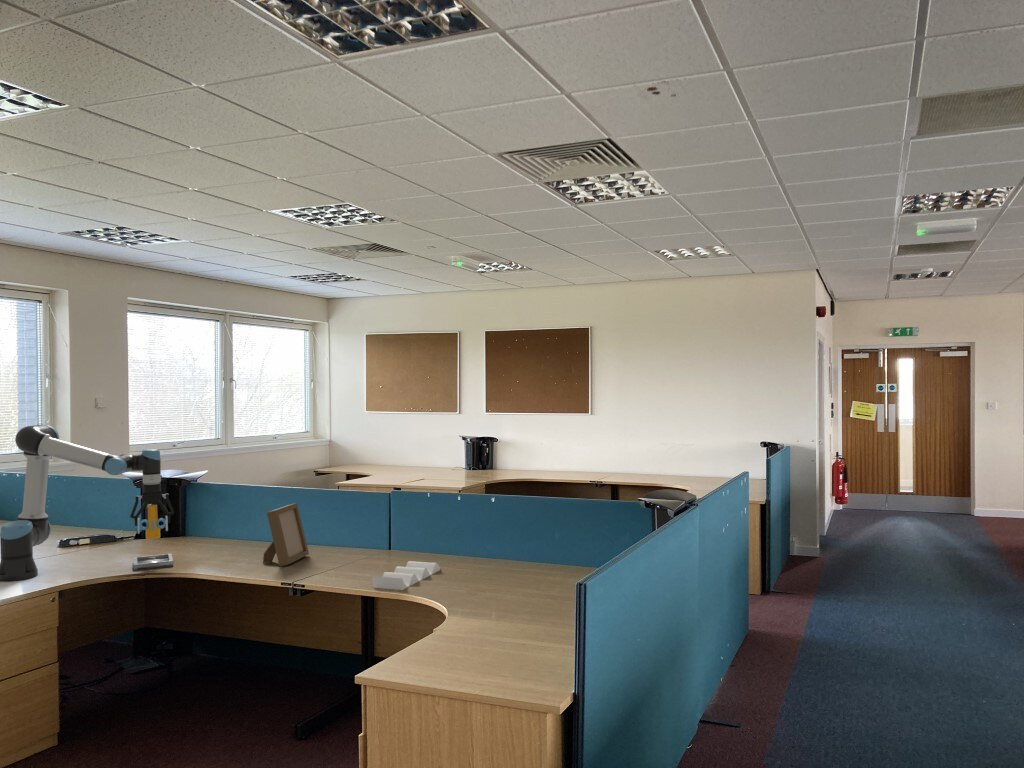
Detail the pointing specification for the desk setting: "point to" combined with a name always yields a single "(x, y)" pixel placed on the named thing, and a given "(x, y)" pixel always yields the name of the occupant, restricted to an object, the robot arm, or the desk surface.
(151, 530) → the orange block with rings
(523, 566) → the desk surface
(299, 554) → the photo frame
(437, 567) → the white zigzag rack
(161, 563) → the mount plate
